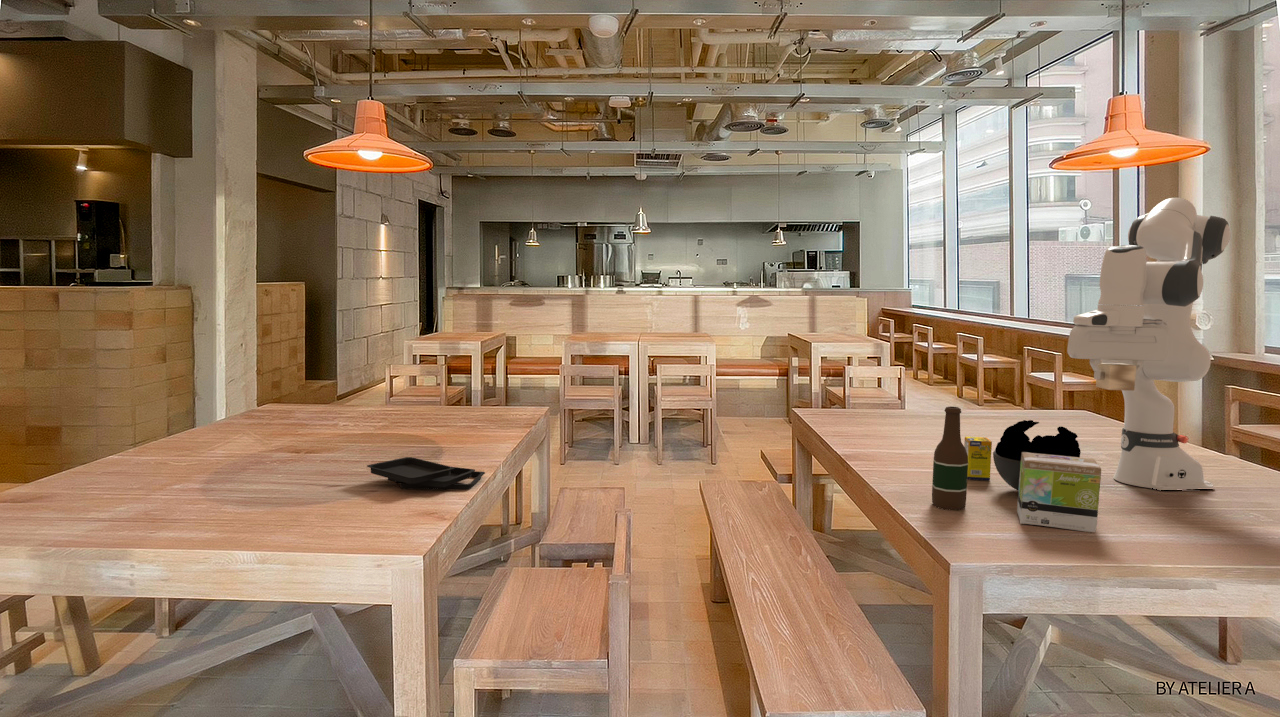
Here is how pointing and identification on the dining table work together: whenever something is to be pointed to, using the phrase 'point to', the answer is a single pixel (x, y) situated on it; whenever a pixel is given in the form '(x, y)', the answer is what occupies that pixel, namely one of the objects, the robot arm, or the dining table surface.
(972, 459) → the supplement box
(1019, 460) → the coal bowl
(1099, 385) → the oak block
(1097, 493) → the tea box
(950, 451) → the beer bottle
